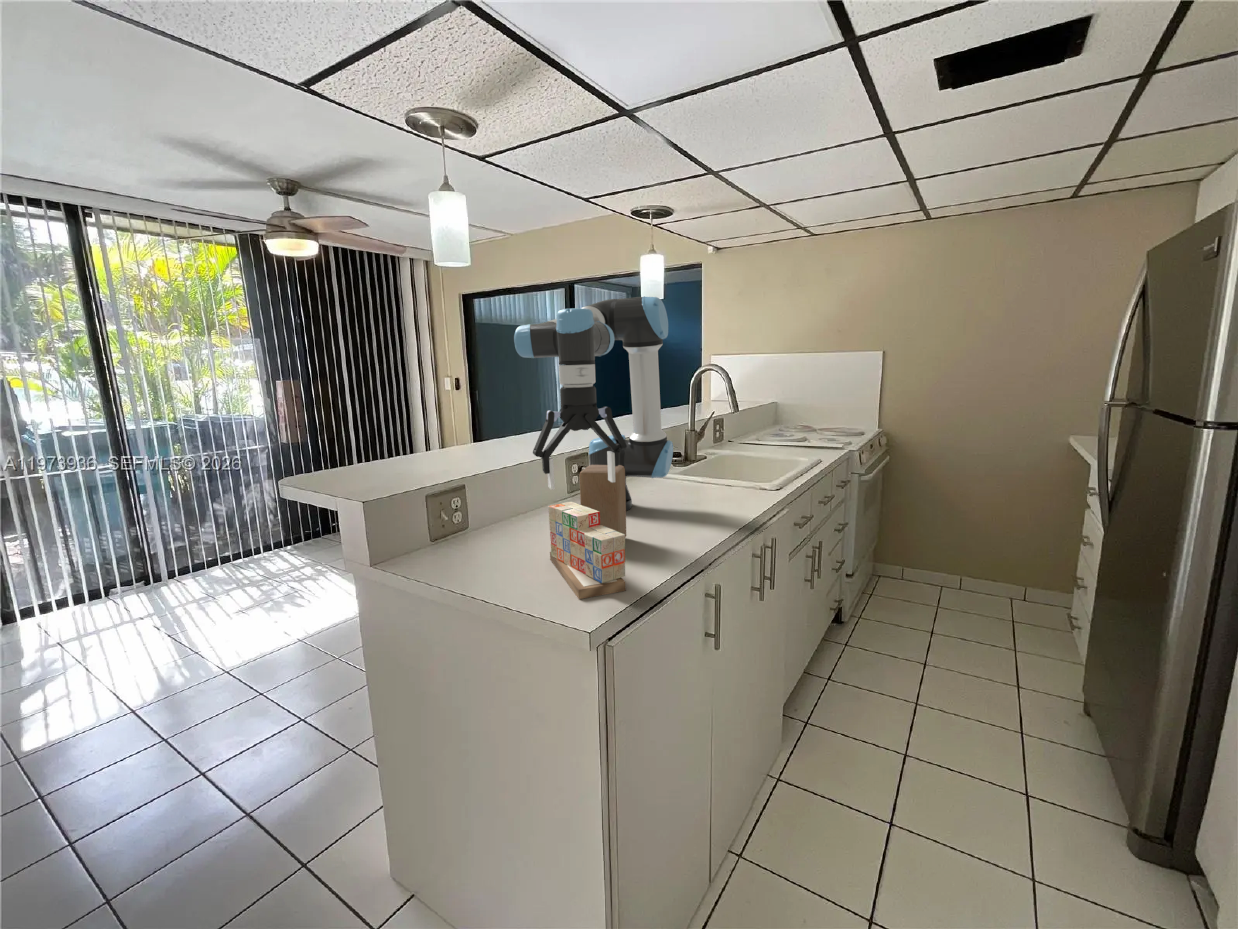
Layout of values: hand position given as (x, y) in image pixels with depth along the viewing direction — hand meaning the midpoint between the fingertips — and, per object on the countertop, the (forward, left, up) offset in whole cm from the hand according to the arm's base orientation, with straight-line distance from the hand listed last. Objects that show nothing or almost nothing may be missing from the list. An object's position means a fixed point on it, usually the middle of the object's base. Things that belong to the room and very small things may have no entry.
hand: (582, 484), depth 116 cm
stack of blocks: (0, +1, -19) cm, 18 cm away
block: (-11, -18, -21) cm, 29 cm away
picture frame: (0, 0, -20) cm, 20 cm away
